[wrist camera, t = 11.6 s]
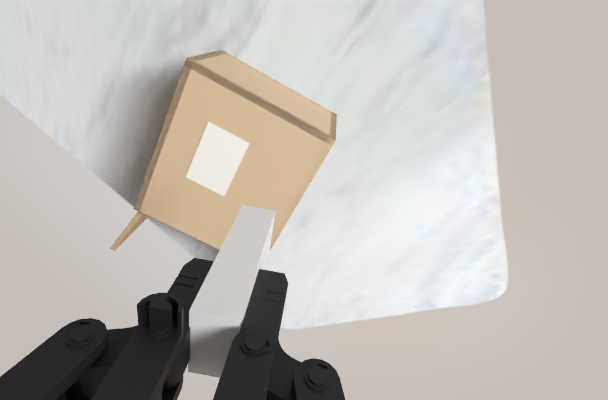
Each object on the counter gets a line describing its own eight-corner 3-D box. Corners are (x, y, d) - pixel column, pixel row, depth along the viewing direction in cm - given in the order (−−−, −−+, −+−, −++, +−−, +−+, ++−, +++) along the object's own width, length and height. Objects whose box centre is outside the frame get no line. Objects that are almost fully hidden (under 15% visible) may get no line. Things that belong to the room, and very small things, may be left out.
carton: (222, 50, 39) (186, 58, 30) (336, 114, 40) (335, 140, 31) (174, 172, 45) (133, 209, 36) (274, 222, 47) (258, 269, 38)
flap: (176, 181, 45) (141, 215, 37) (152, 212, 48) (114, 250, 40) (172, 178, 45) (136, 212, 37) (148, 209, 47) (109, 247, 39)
